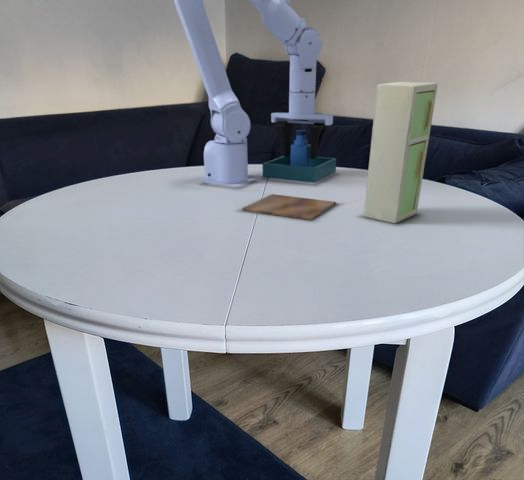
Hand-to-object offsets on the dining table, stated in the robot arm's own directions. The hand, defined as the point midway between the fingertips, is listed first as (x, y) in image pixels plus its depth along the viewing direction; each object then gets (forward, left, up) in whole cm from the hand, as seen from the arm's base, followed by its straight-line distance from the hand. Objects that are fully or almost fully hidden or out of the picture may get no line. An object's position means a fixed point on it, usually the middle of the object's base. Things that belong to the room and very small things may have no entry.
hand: (300, 157), depth 114 cm
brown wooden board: (+10, -26, -4) cm, 28 cm away
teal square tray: (0, 0, -4) cm, 4 cm away
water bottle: (0, 0, -4) cm, 4 cm away
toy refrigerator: (+29, -23, -5) cm, 37 cm away
